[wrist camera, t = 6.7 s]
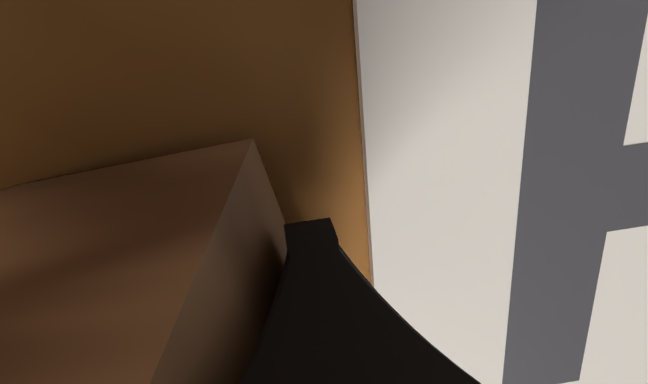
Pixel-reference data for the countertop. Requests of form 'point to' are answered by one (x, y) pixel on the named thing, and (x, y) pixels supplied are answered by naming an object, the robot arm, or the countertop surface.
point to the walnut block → (140, 270)
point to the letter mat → (510, 181)
